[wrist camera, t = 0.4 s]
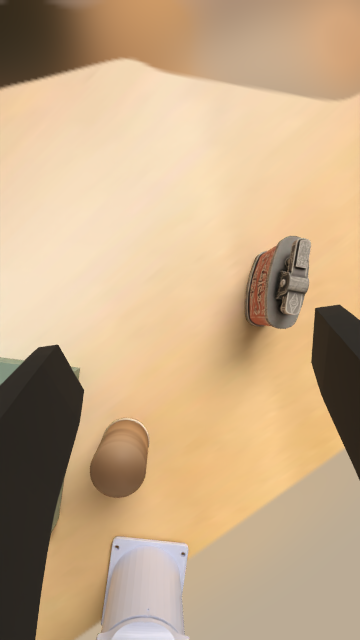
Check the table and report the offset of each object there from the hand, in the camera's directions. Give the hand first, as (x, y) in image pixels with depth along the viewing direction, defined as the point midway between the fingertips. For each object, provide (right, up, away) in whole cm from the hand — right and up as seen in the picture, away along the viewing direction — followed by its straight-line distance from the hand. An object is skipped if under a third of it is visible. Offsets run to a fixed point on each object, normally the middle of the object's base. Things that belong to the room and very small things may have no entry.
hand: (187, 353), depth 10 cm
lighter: (+9, +4, +27) cm, 29 cm away
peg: (-6, -11, +26) cm, 29 cm away
